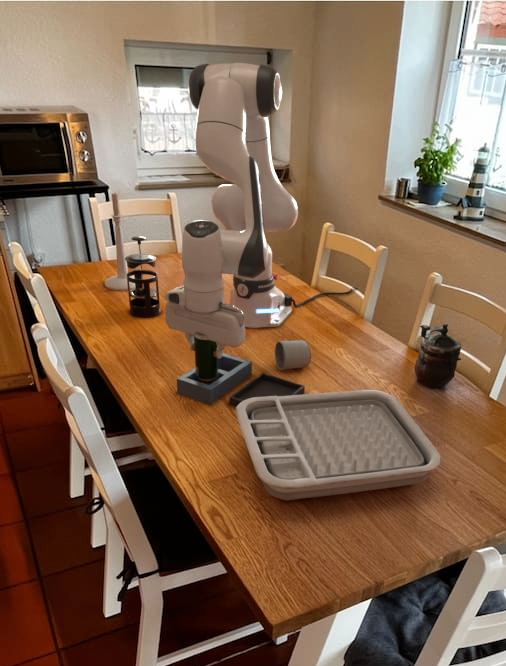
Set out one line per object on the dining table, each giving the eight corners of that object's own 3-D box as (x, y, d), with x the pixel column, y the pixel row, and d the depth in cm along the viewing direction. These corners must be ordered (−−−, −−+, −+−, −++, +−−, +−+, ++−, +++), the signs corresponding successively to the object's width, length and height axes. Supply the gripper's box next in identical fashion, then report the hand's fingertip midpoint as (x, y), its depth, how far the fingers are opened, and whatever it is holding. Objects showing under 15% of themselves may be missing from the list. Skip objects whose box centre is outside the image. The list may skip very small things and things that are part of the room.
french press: (165, 316, 181) (160, 241, 169) (134, 320, 177) (127, 243, 164) (154, 303, 189) (148, 230, 177) (124, 306, 185) (117, 232, 173)
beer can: (201, 383, 139) (199, 337, 133) (192, 374, 143) (189, 328, 136) (222, 378, 142) (221, 333, 136) (212, 369, 146) (211, 324, 139)
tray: (262, 379, 151) (262, 372, 150) (304, 393, 147) (304, 385, 146) (229, 404, 139) (229, 396, 138) (273, 419, 135) (273, 411, 134)
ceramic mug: (312, 371, 157) (314, 344, 153) (283, 375, 154) (284, 348, 150) (296, 354, 165) (297, 329, 161) (269, 358, 162) (270, 332, 158)
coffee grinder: (395, 385, 154) (406, 320, 144) (422, 367, 164) (433, 305, 154) (439, 402, 147) (453, 336, 138) (463, 382, 158) (478, 319, 148)
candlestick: (96, 283, 201) (84, 191, 185) (126, 275, 210) (117, 186, 194) (121, 293, 195) (111, 198, 179) (151, 284, 204) (144, 193, 188)
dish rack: (445, 497, 115) (453, 464, 111) (261, 523, 105) (262, 488, 101) (383, 414, 140) (388, 384, 136) (231, 429, 130) (230, 398, 126)
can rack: (220, 365, 156) (220, 351, 154) (251, 375, 153) (252, 361, 150) (177, 393, 142) (176, 378, 140) (210, 404, 139) (210, 389, 137)
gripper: (251, 304, 130) (250, 360, 138) (176, 284, 138) (180, 338, 145) (235, 313, 126) (235, 370, 133) (159, 292, 133) (163, 347, 140)
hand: (206, 353), depth 139 cm, fingers closed on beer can, 5 cm apart
